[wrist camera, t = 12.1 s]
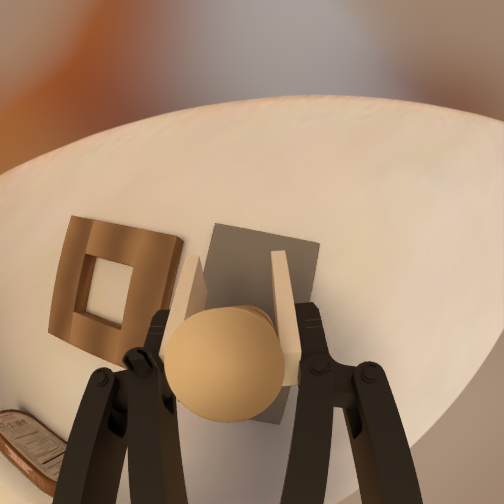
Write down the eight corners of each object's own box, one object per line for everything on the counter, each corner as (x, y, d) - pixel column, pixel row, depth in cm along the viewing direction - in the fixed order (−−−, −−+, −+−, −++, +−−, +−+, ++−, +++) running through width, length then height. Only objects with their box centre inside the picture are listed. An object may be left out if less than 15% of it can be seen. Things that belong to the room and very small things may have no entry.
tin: (20, 417, 21) (-21, 431, 13) (20, 399, 22) (-24, 412, 13) (108, 482, 20) (73, 516, 11) (110, 466, 20) (71, 501, 12)
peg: (215, 350, 20) (156, 403, 8) (226, 299, 21) (176, 295, 9) (267, 361, 20) (269, 432, 8) (278, 310, 20) (297, 322, 9)
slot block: (59, 331, 23) (48, 332, 21) (82, 220, 25) (71, 215, 23) (157, 371, 22) (148, 377, 20) (183, 241, 24) (177, 236, 22)
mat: (179, 399, 22) (178, 401, 21) (216, 224, 24) (215, 222, 24) (279, 422, 21) (279, 424, 20) (318, 244, 23) (319, 243, 23)
